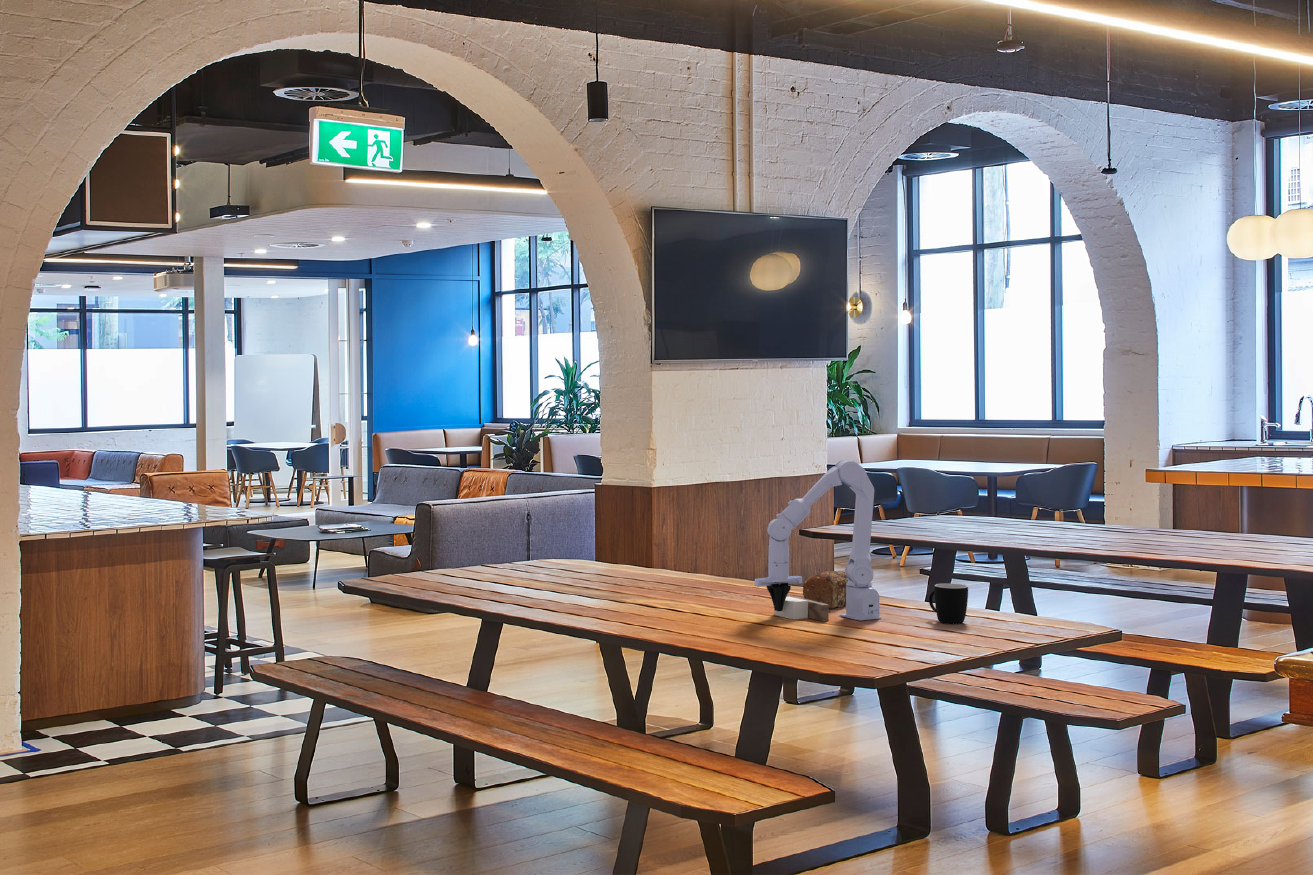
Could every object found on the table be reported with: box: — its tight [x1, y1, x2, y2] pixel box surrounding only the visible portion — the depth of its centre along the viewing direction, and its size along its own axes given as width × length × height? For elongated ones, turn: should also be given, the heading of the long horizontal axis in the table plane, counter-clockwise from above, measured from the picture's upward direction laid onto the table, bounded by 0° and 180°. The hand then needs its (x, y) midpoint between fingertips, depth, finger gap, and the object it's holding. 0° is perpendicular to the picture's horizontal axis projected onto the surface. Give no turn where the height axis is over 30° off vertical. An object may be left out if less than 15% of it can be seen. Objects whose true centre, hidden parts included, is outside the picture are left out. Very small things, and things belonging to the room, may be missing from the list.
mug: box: [928, 583, 969, 625], centre depth 351 cm, size 12×9×10 cm
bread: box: [802, 570, 849, 610], centre depth 382 cm, size 19×11×10 cm, turn 146°
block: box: [773, 597, 808, 620], centre depth 360 cm, size 9×5×5 cm, turn 31°
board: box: [787, 594, 830, 622], centre depth 362 cm, size 22×2×4 cm, turn 27°
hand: (778, 610), depth 357 cm, fingers closed
